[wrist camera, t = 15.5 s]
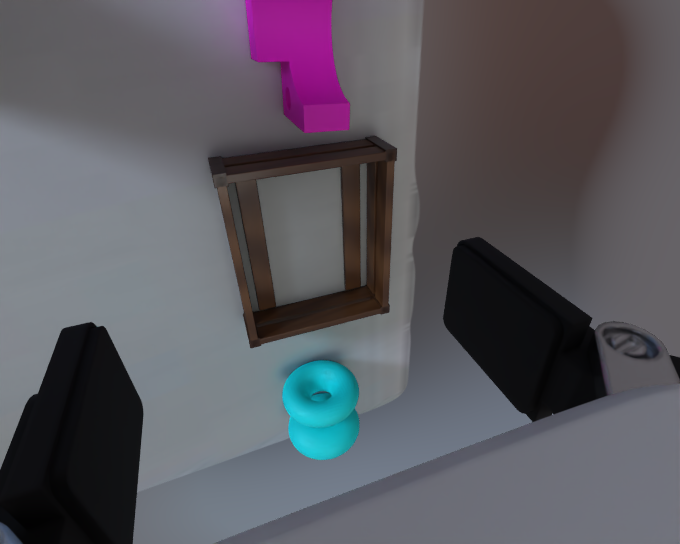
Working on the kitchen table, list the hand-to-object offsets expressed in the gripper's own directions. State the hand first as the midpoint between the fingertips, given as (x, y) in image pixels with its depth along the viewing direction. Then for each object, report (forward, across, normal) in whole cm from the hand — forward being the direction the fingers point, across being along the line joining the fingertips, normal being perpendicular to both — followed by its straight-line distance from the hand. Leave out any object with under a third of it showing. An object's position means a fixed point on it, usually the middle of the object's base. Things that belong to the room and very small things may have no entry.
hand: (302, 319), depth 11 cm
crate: (+30, -7, +14) cm, 34 cm away
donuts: (+31, -6, +38) cm, 49 cm away
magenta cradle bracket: (+31, -7, -6) cm, 32 cm away
